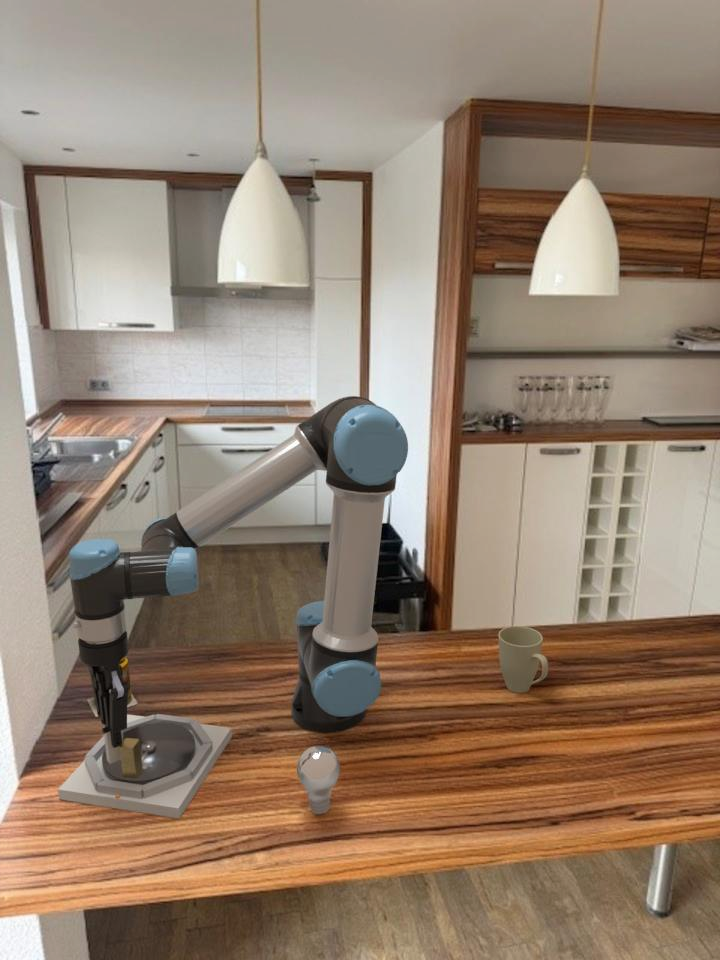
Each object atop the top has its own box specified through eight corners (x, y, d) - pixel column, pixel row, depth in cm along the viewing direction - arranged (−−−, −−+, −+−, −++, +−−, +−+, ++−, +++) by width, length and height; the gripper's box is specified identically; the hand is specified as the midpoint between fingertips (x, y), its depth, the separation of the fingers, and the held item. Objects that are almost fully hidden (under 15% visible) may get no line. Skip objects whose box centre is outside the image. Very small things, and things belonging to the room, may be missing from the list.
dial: (128, 725, 137) (124, 692, 135) (208, 731, 135) (205, 698, 133) (85, 781, 122) (80, 744, 120) (174, 789, 119) (171, 752, 117)
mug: (491, 696, 149) (493, 644, 146) (501, 672, 158) (503, 623, 154) (545, 706, 145) (548, 653, 142) (551, 682, 154) (555, 631, 150)
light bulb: (298, 799, 120) (295, 737, 117) (339, 796, 121) (338, 734, 117) (298, 829, 113) (295, 764, 110) (342, 826, 114) (341, 761, 111)
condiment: (138, 704, 148) (132, 652, 145) (96, 717, 143) (89, 664, 140) (127, 688, 154) (122, 637, 150) (87, 700, 149) (80, 649, 146)
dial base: (232, 736, 137) (230, 721, 136) (179, 818, 116) (177, 800, 115) (127, 723, 141) (126, 707, 140) (59, 799, 121) (56, 781, 120)
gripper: (66, 625, 118) (81, 748, 125) (92, 657, 108) (107, 788, 115) (111, 613, 123) (123, 732, 129) (140, 642, 113) (152, 769, 119)
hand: (116, 758), depth 122 cm, fingers closed
